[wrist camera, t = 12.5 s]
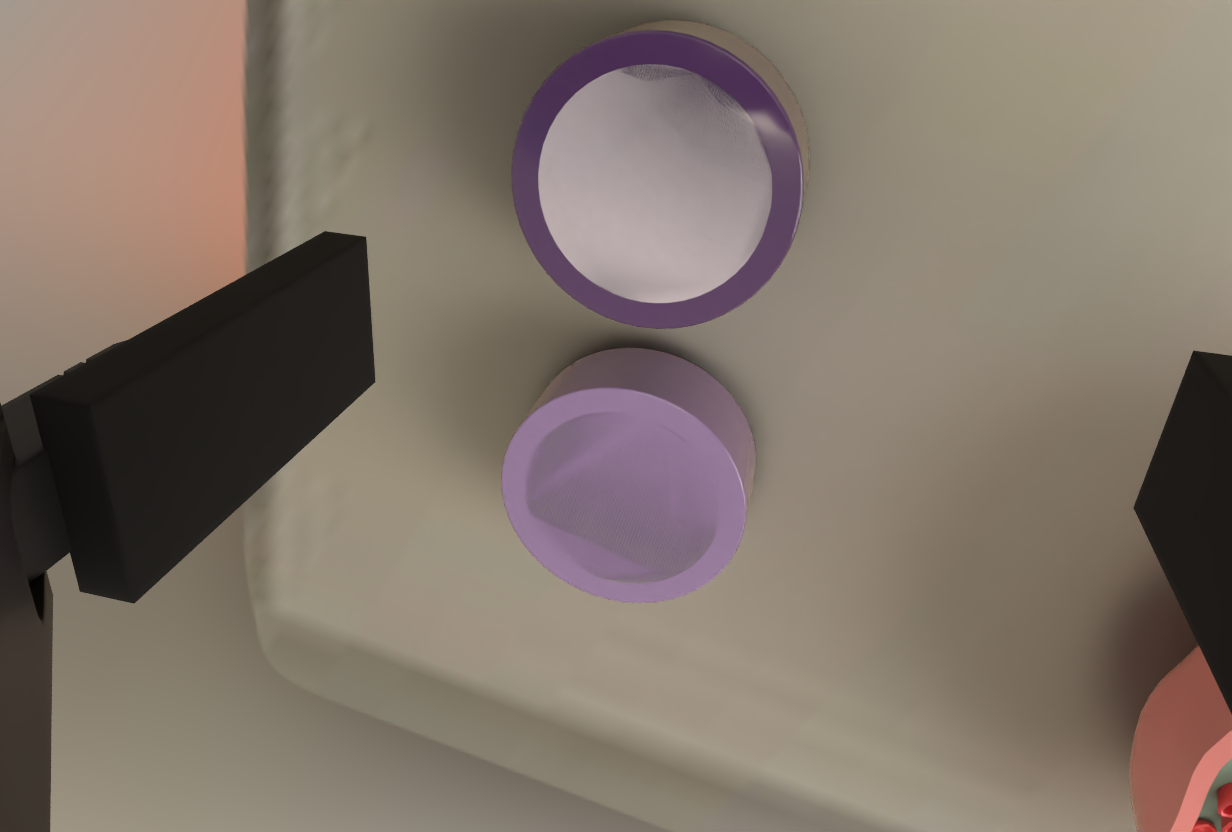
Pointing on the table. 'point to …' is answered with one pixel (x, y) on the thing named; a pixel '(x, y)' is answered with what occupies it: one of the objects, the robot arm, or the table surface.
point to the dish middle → (662, 173)
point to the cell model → (1183, 754)
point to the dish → (631, 476)
